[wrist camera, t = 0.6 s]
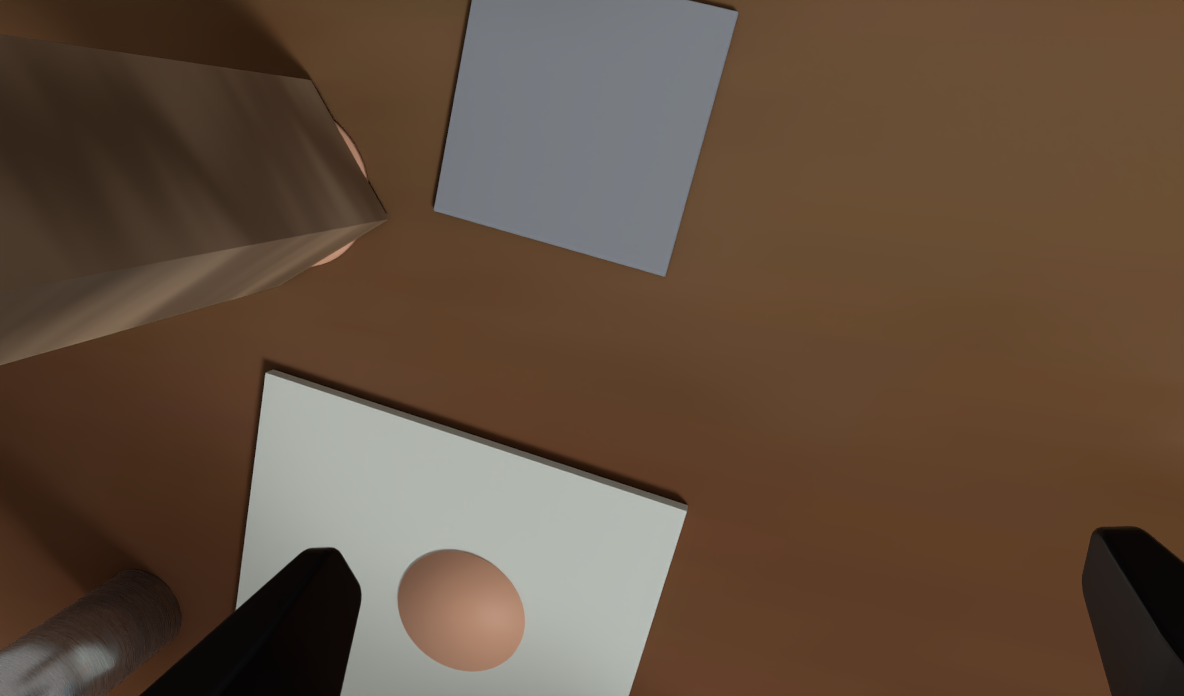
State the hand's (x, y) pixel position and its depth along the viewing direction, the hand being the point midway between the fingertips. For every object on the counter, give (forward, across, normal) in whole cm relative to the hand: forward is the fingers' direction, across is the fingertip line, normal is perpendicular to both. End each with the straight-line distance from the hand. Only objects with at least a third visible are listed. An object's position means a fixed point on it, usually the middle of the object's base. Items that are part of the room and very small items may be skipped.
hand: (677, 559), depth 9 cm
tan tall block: (+14, +12, 0) cm, 19 cm away
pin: (+9, +23, +13) cm, 28 cm away
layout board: (+11, +9, +7) cm, 16 cm away
